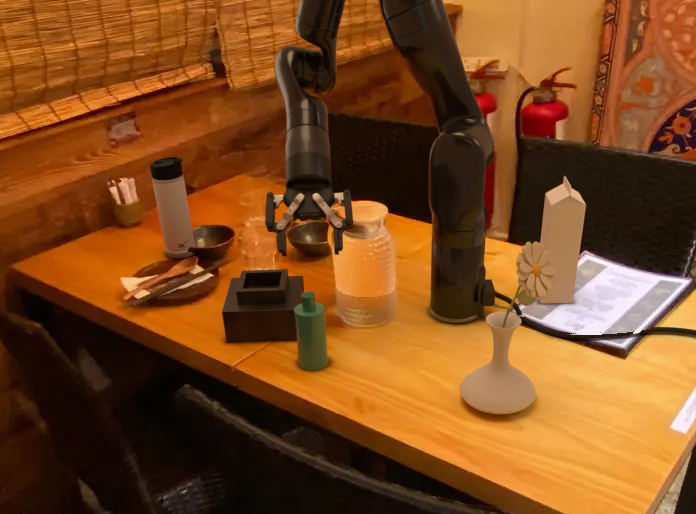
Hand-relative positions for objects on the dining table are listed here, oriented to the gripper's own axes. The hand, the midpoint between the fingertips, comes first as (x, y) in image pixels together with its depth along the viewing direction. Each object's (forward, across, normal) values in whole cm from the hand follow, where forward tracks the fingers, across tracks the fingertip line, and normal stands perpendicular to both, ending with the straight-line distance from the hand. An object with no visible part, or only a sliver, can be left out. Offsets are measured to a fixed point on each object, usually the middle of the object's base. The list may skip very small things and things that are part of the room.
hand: (310, 253), depth 126 cm
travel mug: (-16, -30, +38) cm, 51 cm away
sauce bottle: (+17, 0, +5) cm, 18 cm away
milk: (+2, +44, +20) cm, 48 cm away
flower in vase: (+26, +29, -3) cm, 39 cm away
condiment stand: (+7, -9, +15) cm, 19 cm away
